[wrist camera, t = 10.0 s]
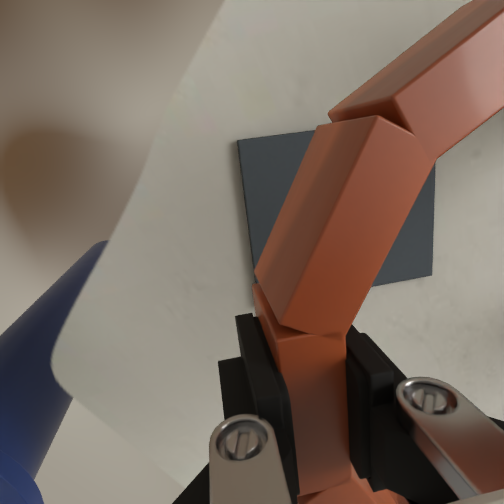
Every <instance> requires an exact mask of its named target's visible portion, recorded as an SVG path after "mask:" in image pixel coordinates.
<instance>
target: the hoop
mask: <svg viewBox="0 0 504 504" xmlns="http://www.w3.org/2000/svg"><path fill="white" fill-rule="evenodd" d="M502 108H504V0H473V1H471V2H469V3H467V4H465V5H463V6H462V7H460V8H459V9H458V10H457V11H455V12H454V13H453V14H452V15H450V16H449V17H448V18H447V19H445V20H444V21H443V22H441V23H440V24H439V25H438V26H436V27H435V28H434V29H433V30H431V31H430V32H429V33H428V34H426V35H425V36H424V37H422V38H421V39H420V40H419V41H417V42H416V43H415V44H414V45H412V46H411V47H410V48H409V49H407V50H406V51H405V52H403V53H402V54H401V55H400V56H398V57H397V58H396V59H395V60H393V61H392V62H391V63H390V64H388V65H387V66H386V67H384V68H383V69H382V70H381V71H379V72H378V73H377V74H376V75H374V76H373V77H372V78H371V79H369V80H368V81H367V82H365V83H364V84H363V85H362V86H360V87H359V88H358V89H357V90H355V91H354V92H353V93H352V94H350V95H349V96H348V97H347V98H345V99H344V100H343V101H341V102H340V103H339V104H338V105H336V106H335V107H334V108H333V109H331V110H330V111H329V112H328V116H329V118H330V119H331V121H332V123H329V124H324V125H318V126H317V128H316V130H315V133H314V135H313V137H312V139H311V142H310V144H309V146H308V149H307V151H306V153H305V155H304V158H303V160H302V162H301V165H300V167H299V169H298V172H297V174H296V176H295V178H294V181H293V183H292V185H291V188H290V190H289V192H288V194H287V197H286V199H285V201H284V204H283V206H282V208H281V211H280V213H279V215H278V217H277V220H276V222H275V224H274V227H273V229H272V231H271V233H270V236H269V238H268V240H267V243H266V245H265V247H264V250H263V252H262V254H261V256H260V259H259V261H258V263H257V266H256V268H255V270H254V273H255V275H256V277H257V279H258V281H259V283H256V284H253V285H252V291H253V299H254V306H255V314H256V317H257V316H258V319H259V321H260V324H261V326H262V329H263V332H264V334H265V337H266V340H267V342H268V345H269V348H270V350H271V353H272V356H273V358H274V361H275V364H276V366H277V369H278V371H279V372H280V373H282V375H283V378H284V380H285V383H286V386H287V389H288V392H289V397H290V402H291V410H292V420H293V429H294V439H295V448H296V458H297V468H298V477H299V487H300V495H297V501H298V504H398V501H397V499H396V493H394V492H392V491H390V490H388V489H385V490H381V491H377V492H373V491H372V489H371V487H370V485H369V483H368V481H367V479H366V478H365V479H360V478H359V477H358V475H357V473H356V471H355V469H354V467H353V465H352V463H351V461H350V450H349V429H348V408H347V387H346V366H345V360H346V359H347V358H346V337H345V336H346V334H347V332H348V330H349V328H350V326H351V324H352V322H353V320H354V319H355V317H356V315H357V313H358V311H359V309H360V307H361V305H362V303H363V301H364V299H365V297H366V295H367V293H368V291H369V289H370V288H371V286H372V284H373V282H374V280H375V278H376V276H377V274H378V272H379V270H380V268H381V266H382V264H383V262H384V260H385V258H386V257H387V255H388V253H389V251H390V249H391V247H392V245H393V243H394V241H395V239H396V237H397V235H398V233H399V231H400V229H401V227H402V225H403V224H404V222H405V220H406V218H407V216H408V214H409V212H410V210H411V208H412V206H413V204H414V202H415V200H416V198H417V196H418V194H419V193H420V191H421V189H422V187H423V185H424V183H425V181H426V179H427V177H428V175H429V173H430V171H431V169H432V167H433V165H434V163H435V161H436V160H437V158H439V157H440V156H441V155H442V154H444V153H445V152H446V151H448V150H449V149H450V148H452V147H453V146H454V145H455V144H457V143H458V142H459V141H461V140H462V139H463V138H465V137H466V136H467V135H469V134H470V133H471V132H472V131H474V130H475V129H476V128H478V127H479V126H480V125H482V124H483V123H484V122H485V121H487V120H488V119H489V118H491V117H492V116H493V115H495V114H496V113H497V112H499V111H500V110H501V109H502Z"/></svg>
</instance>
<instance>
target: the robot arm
mask: <svg viewBox="0 0 504 504" xmlns="http://www.w3.org/2000/svg"><path fill="white" fill-rule="evenodd" d="M235 319H236V326H237V333H238V340H239V346H240V353H241V357H236V358H231V359H226V360H221V361H218V366H219V375H220V384H221V393H222V402H223V410H224V419H225V421H223V422H221V423H220V424H219V425H218V426H217V427H216V428H215V429H214V431H213V433H212V435H211V437H210V442H209V463H208V464H207V465H206V466H205V467H204V468H203V470H202V471H201V472H200V473H199V474H198V475H197V476H196V477H195V479H194V480H193V481H192V482H191V483H190V484H189V485H188V486H187V488H186V489H185V490H184V491H183V492H182V493H181V494H180V495H179V497H178V498H177V499H176V500H175V501H174V502H173V503H172V504H298V501H297V495H300V487H299V477H298V468H297V458H296V448H295V439H294V429H293V420H292V410H291V402H290V397H289V392H288V389H287V386H286V383H285V380H284V378H283V375H282V373H280V372H279V371H278V369H277V366H276V364H275V361H274V358H273V356H272V353H271V350H270V348H269V345H268V342H267V340H266V337H265V334H264V332H263V329H262V326H261V324H260V321H259V319H258V316H257V317H253V314H252V313H248V314H243V315H237V316H235ZM345 337H346V358H347V359H346V360H345V366H346V387H347V408H348V429H349V450H350V461H351V463H352V465H353V467H354V469H355V471H356V473H357V475H358V477H359V478H360V479H365V478H366V479H367V481H368V483H369V485H370V487H371V489H372V491H373V492H377V491H381V490H385V489H388V490H390V491H392V492H394V493H396V499H397V501H398V504H504V421H501V420H498V419H494V418H491V417H488V416H486V415H485V414H484V413H483V412H482V411H481V410H480V409H478V408H477V407H476V406H475V405H474V404H473V403H472V402H470V401H469V400H468V399H467V398H466V397H465V396H464V395H462V394H461V393H460V392H459V391H458V390H457V389H455V388H454V387H452V386H451V385H450V384H448V383H445V382H443V381H441V380H438V379H434V378H430V377H413V378H409V379H408V378H407V377H406V376H405V375H404V374H403V373H402V372H401V371H400V370H399V369H398V368H397V366H396V365H395V364H394V363H393V362H392V361H391V360H390V359H389V358H388V357H387V356H386V355H385V353H384V352H383V351H382V350H381V349H380V348H379V347H378V346H377V345H376V344H375V343H374V342H373V340H372V339H371V338H370V337H369V336H368V335H367V334H365V333H359V332H358V331H357V330H356V328H355V327H354V326H353V325H352V324H351V326H350V328H349V330H348V332H347V334H346V336H345Z"/></svg>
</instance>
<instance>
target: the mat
mask: <svg viewBox="0 0 504 504" xmlns="http://www.w3.org/2000/svg"><path fill="white" fill-rule="evenodd" d="M314 133H315V130H313V131H305V132H298V133H290V134H282V135H274V136H267V137H259V138H251V139H243V140H238V141H237V144H238V152H239V159H240V167H241V175H242V182H243V190H244V198H245V205H246V213H247V221H248V228H249V236H250V244H251V251H252V259H253V267H254V270H255V268H256V266H257V263H258V261H259V259H260V256H261V254H262V252H263V250H264V247H265V245H266V243H267V240H268V238H269V236H270V233H271V231H272V229H273V227H274V224H275V222H276V220H277V217H278V215H279V213H280V211H281V208H282V206H283V204H284V201H285V199H286V197H287V194H288V192H289V190H290V188H291V185H292V183H293V181H294V178H295V176H296V174H297V172H298V169H299V167H300V165H301V162H302V160H303V158H304V155H305V153H306V151H307V149H308V146H309V144H310V142H311V139H312V137H313V135H314ZM434 194H435V163H434V165H433V167H432V169H431V171H430V173H429V175H428V177H427V179H426V181H425V183H424V185H423V187H422V189H421V191H420V193H419V194H418V196H417V198H416V200H415V202H414V204H413V206H412V208H411V210H410V212H409V214H408V216H407V218H406V220H405V222H404V224H403V225H402V227H401V229H400V231H399V233H398V235H397V237H396V239H395V241H394V243H393V245H392V247H391V249H390V251H389V253H388V255H387V257H386V258H385V260H384V262H383V264H382V266H381V268H380V270H379V272H378V274H377V276H376V278H375V280H374V282H373V284H372V286H371V287H373V286H378V285H383V284H389V283H394V282H399V281H405V280H410V279H415V278H421V277H426V276H431V275H432V263H433V228H434ZM254 274H255V273H254ZM255 282H256V283H259V281H258V279H257V277H256V275H255Z"/></svg>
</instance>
